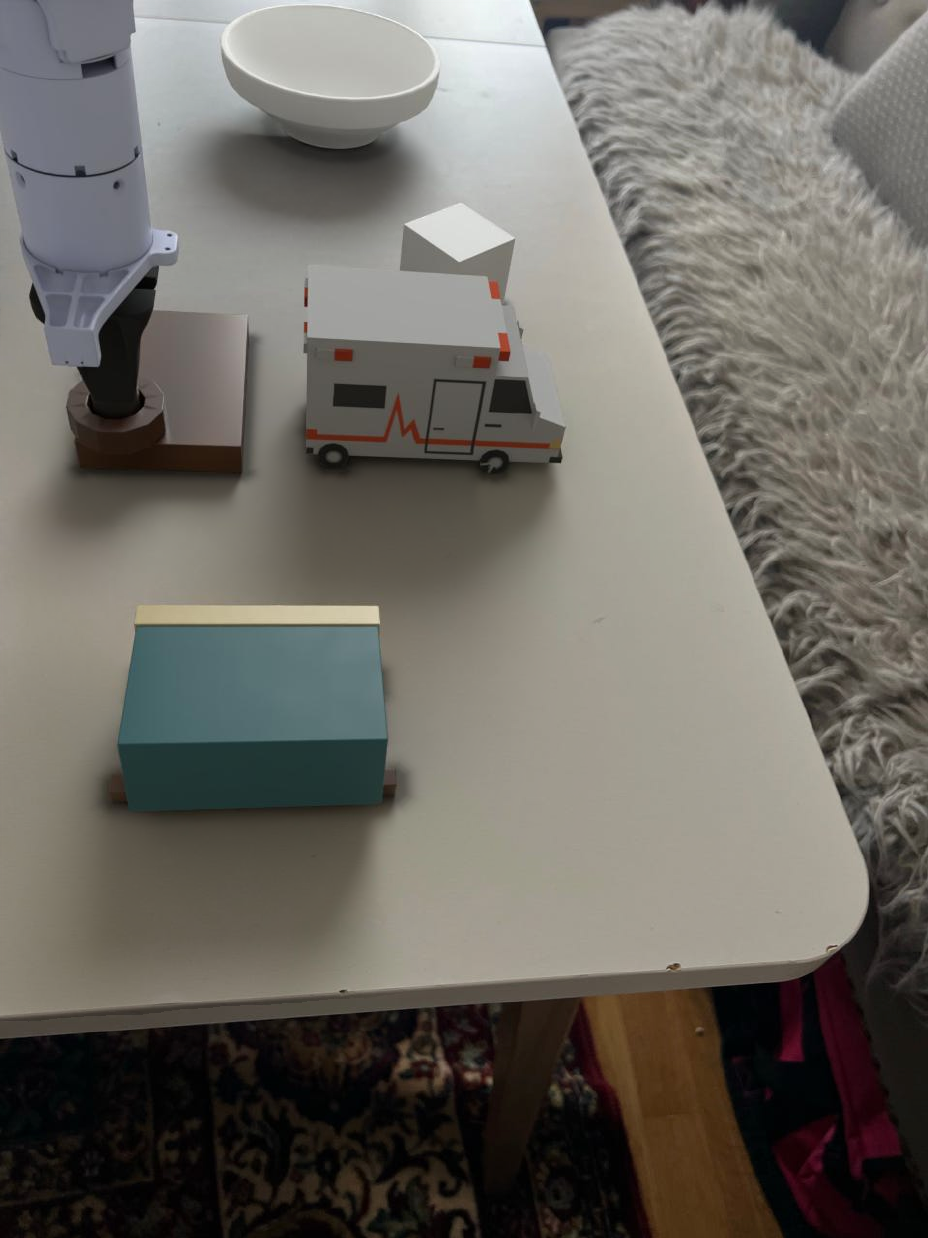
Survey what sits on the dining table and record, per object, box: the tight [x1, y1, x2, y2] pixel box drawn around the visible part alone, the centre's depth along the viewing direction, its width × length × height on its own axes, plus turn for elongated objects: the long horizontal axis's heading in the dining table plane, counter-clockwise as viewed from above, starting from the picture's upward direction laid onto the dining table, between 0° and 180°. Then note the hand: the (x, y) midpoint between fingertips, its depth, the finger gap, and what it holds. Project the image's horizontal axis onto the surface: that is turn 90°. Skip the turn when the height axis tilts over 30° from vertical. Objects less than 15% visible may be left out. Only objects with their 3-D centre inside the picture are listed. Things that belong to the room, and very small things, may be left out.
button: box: [90, 383, 140, 419], centre depth 61 cm, size 3×3×2 cm
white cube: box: [399, 202, 516, 305], centre depth 78 cm, size 6×6×6 cm
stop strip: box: [108, 768, 398, 803], centre depth 51 cm, size 14×1×1 cm, turn 96°
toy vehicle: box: [302, 264, 567, 475], centre depth 66 cm, size 10×17×10 cm, turn 95°
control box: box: [65, 309, 250, 473], centre depth 67 cm, size 10×15×4 cm
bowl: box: [219, 3, 442, 150], centre depth 93 cm, size 20×20×7 cm
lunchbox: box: [116, 604, 389, 812], centre depth 50 cm, size 12×5×9 cm
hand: (115, 393), depth 54 cm, fingers closed
